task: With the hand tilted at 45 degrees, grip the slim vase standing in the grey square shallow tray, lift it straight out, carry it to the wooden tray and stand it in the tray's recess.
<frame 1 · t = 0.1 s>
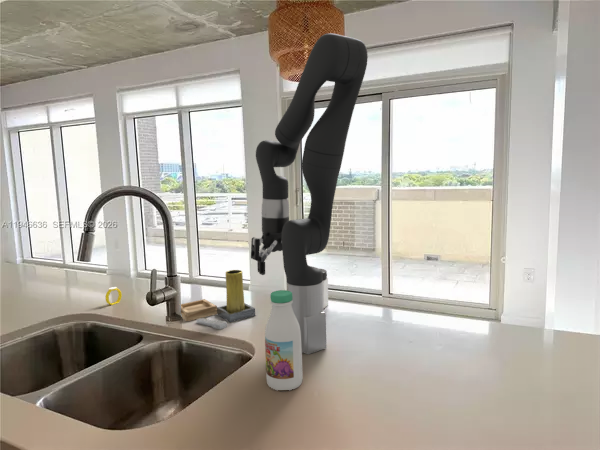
hand: (275, 271, 115), 17 cm above the worktop, tool pointing down, fingers open, 8 cm apart
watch: (114, 304, 148), on the worktop
vase: (236, 315, 132), resting in grey square shallow tray
wooden tray: (196, 313, 135), on the worktop
milk bottle: (284, 383, 88), on the worktop
jar: (315, 306, 138), on the worktop
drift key: (210, 324, 124), on the worktop
grey square shallow tray: (236, 315, 131), on the worktop
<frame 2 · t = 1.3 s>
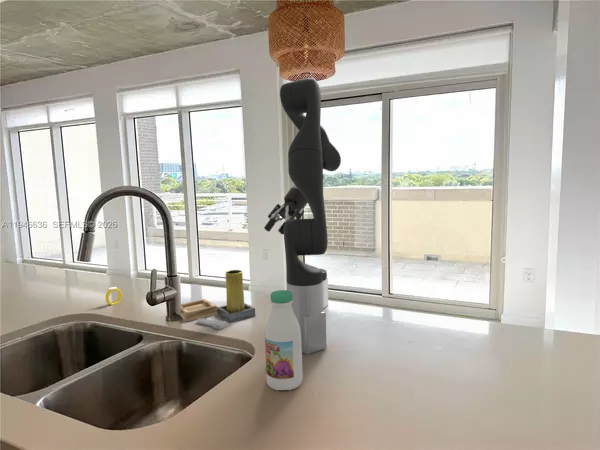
hand: (273, 231, 134), 26 cm above the worktop, tool tilted 45°, fingers open, 8 cm apart
nothing on the worktop moved.
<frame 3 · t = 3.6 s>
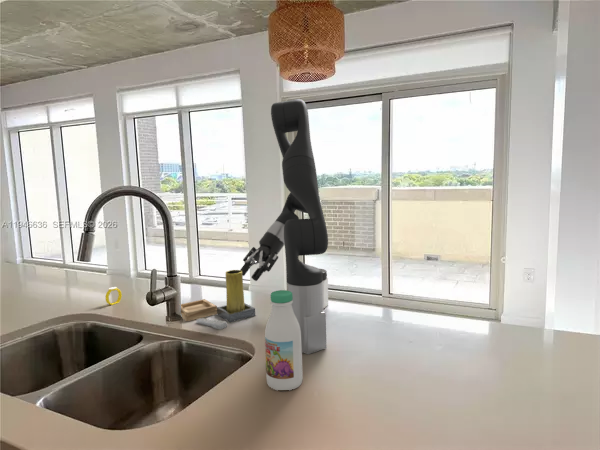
hand: (247, 276, 133), 12 cm above the worktop, tool tilted 45°, fingers open, 8 cm apart
nothing on the worktop moved.
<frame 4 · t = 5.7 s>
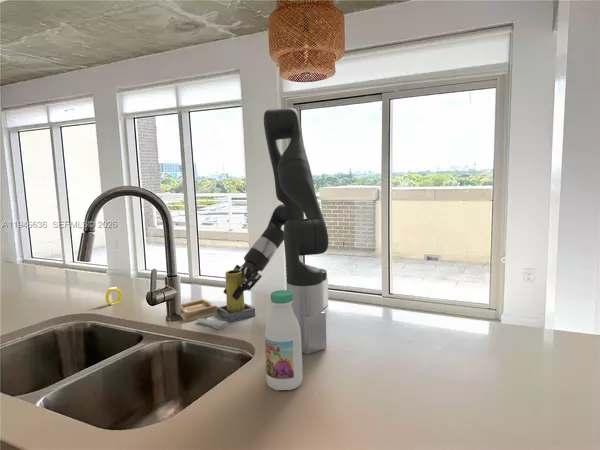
hand: (230, 295, 130), 7 cm above the worktop, tool tilted 45°, fingers closed on vase, 5 cm apart
vase: (236, 315, 132), resting in grey square shallow tray, touching gripper
everything else where it was.
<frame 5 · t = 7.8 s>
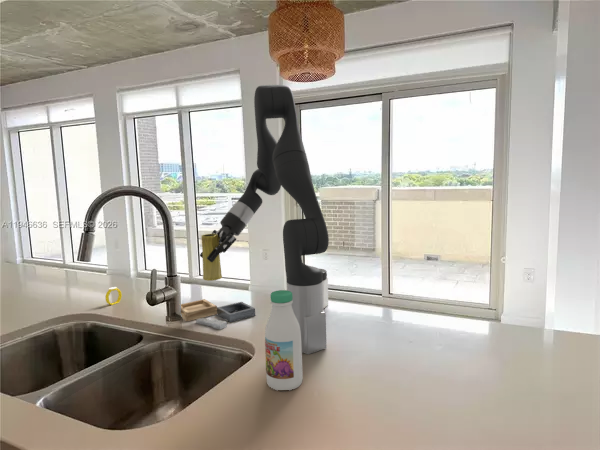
hand: (205, 258, 131), 18 cm above the worktop, tool tilted 45°, fingers closed on vase, 5 cm apart
vase: (212, 278, 133), point 11 cm above the worktop, touching gripper
everything else where it was.
when the fingers open (9 cm above the worktop, at t = 10.3 s): vase drops 1 cm, resting on wooden tray.
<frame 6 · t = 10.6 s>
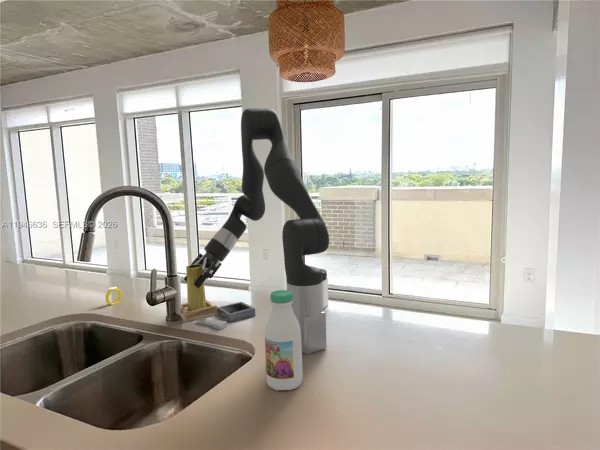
hand: (190, 283, 133), 10 cm above the worktop, tool tilted 45°, fingers open, 8 cm apart
vase: (197, 308, 135), point 1 cm above the worktop, touching wooden tray
everything else where it was.
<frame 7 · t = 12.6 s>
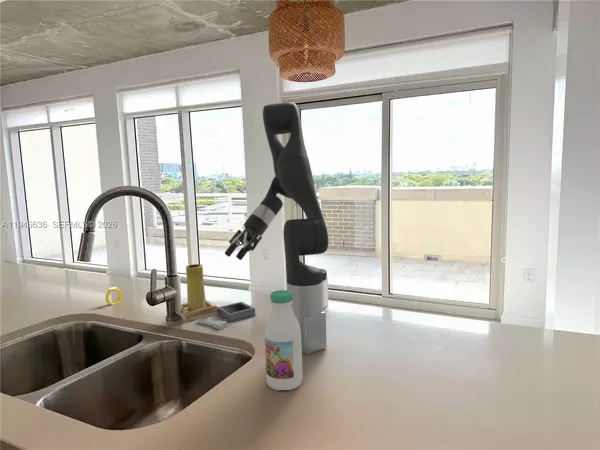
hand: (232, 256, 139), 17 cm above the worktop, tool tilted 45°, fingers open, 8 cm apart
nothing on the worktop moved.
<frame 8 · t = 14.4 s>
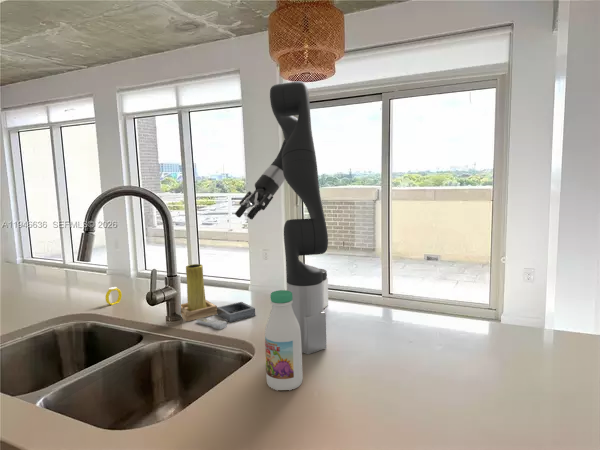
hand: (243, 216, 137), 31 cm above the worktop, tool tilted 45°, fingers open, 8 cm apart
nothing on the worktop moved.
at the end: vase inside the target area on the wooden tray (0.3 cm from its centre), point 1.3 cm above the wooden tray's base; vase tilted 0°; the gripper is holding nothing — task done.
